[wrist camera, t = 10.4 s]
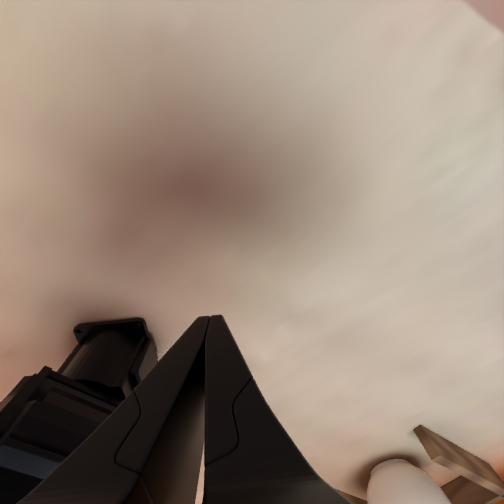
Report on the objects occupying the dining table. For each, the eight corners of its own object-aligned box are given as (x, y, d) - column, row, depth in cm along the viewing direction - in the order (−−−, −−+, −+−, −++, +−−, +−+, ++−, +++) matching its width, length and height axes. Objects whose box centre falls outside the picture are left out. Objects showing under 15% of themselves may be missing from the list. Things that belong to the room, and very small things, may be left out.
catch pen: (323, 490, 39) (331, 522, 36) (420, 425, 34) (439, 455, 31) (395, 518, 44) (407, 547, 41) (489, 464, 39) (512, 493, 36)
